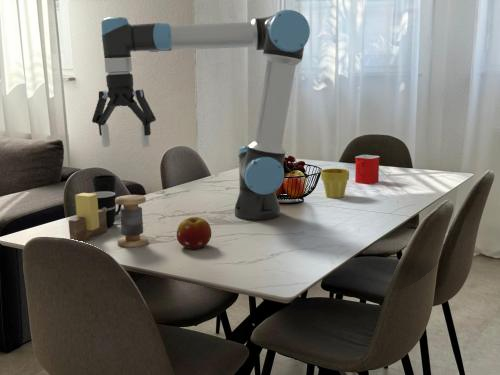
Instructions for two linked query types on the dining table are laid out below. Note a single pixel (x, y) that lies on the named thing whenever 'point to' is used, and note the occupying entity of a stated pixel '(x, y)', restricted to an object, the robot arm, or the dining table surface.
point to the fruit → (194, 233)
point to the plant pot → (335, 182)
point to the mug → (108, 206)
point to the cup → (104, 183)
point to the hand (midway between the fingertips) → (126, 146)
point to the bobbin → (131, 221)
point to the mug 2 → (367, 169)
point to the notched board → (79, 227)
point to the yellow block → (88, 209)
